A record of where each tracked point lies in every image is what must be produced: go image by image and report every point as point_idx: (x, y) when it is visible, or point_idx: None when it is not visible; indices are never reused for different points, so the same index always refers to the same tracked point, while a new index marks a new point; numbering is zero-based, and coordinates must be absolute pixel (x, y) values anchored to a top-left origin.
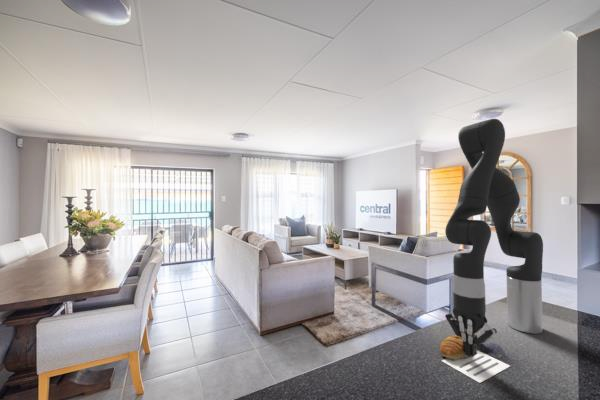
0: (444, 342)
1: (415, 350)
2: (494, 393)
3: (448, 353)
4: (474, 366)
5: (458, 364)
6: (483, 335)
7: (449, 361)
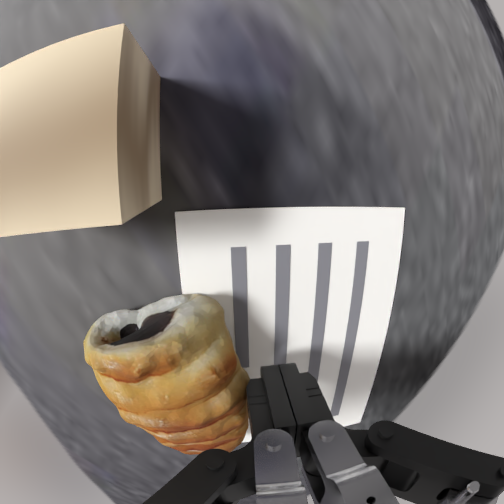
0: (147, 430)
1: (116, 450)
2: (398, 413)
3: None
4: None
5: None
6: (428, 500)
7: None
